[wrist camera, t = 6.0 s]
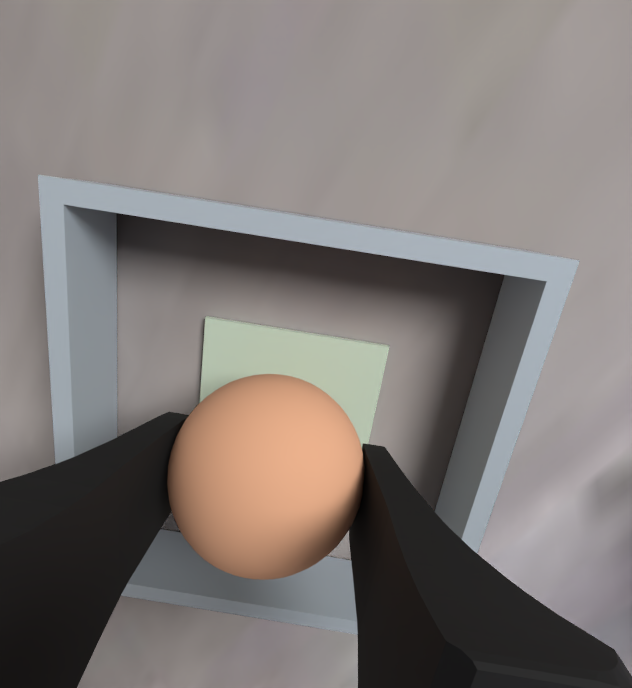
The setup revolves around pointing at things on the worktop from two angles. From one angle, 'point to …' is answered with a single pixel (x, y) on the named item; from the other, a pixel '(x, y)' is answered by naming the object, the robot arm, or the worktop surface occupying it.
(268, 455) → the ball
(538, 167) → the worktop surface
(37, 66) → the worktop surface
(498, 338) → the grey shallow square tray
